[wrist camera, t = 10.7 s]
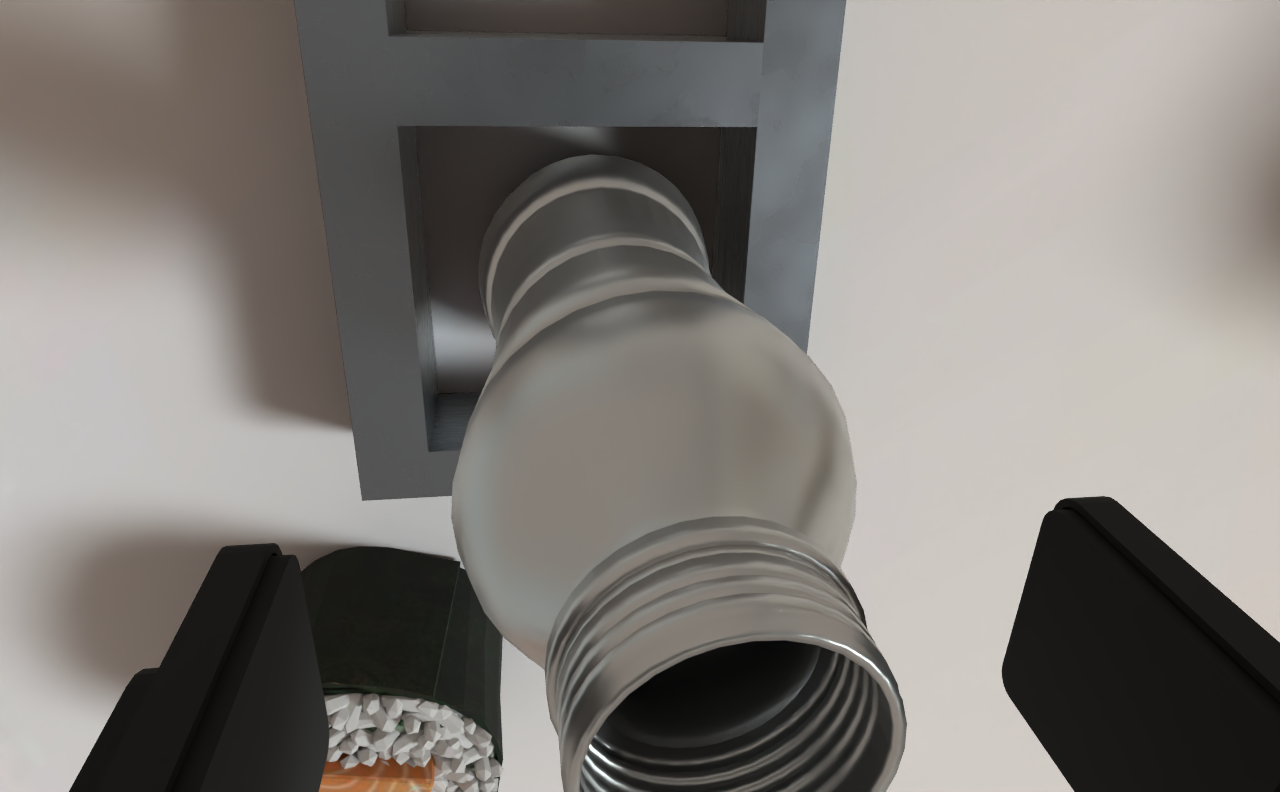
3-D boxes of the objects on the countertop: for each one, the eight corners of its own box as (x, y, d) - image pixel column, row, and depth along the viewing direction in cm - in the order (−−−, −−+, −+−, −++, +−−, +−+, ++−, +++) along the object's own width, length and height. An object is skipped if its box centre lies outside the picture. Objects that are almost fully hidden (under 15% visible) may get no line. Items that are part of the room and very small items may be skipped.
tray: (267, -492, 19) (211, -608, 15) (835, -436, 20) (904, -529, 17) (380, 437, 28) (362, 500, 25) (758, 419, 30) (793, 477, 27)
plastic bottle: (729, 214, 27) (1174, 649, 9) (612, 382, 29) (782, 1023, 11) (555, 95, 25) (674, 352, 7) (440, 287, 27) (293, 888, 9)
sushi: (281, 535, 29) (209, 707, 22) (521, 561, 31) (525, 728, 24) (266, 710, 33) (199, 911, 25) (485, 725, 34) (480, 915, 27)
